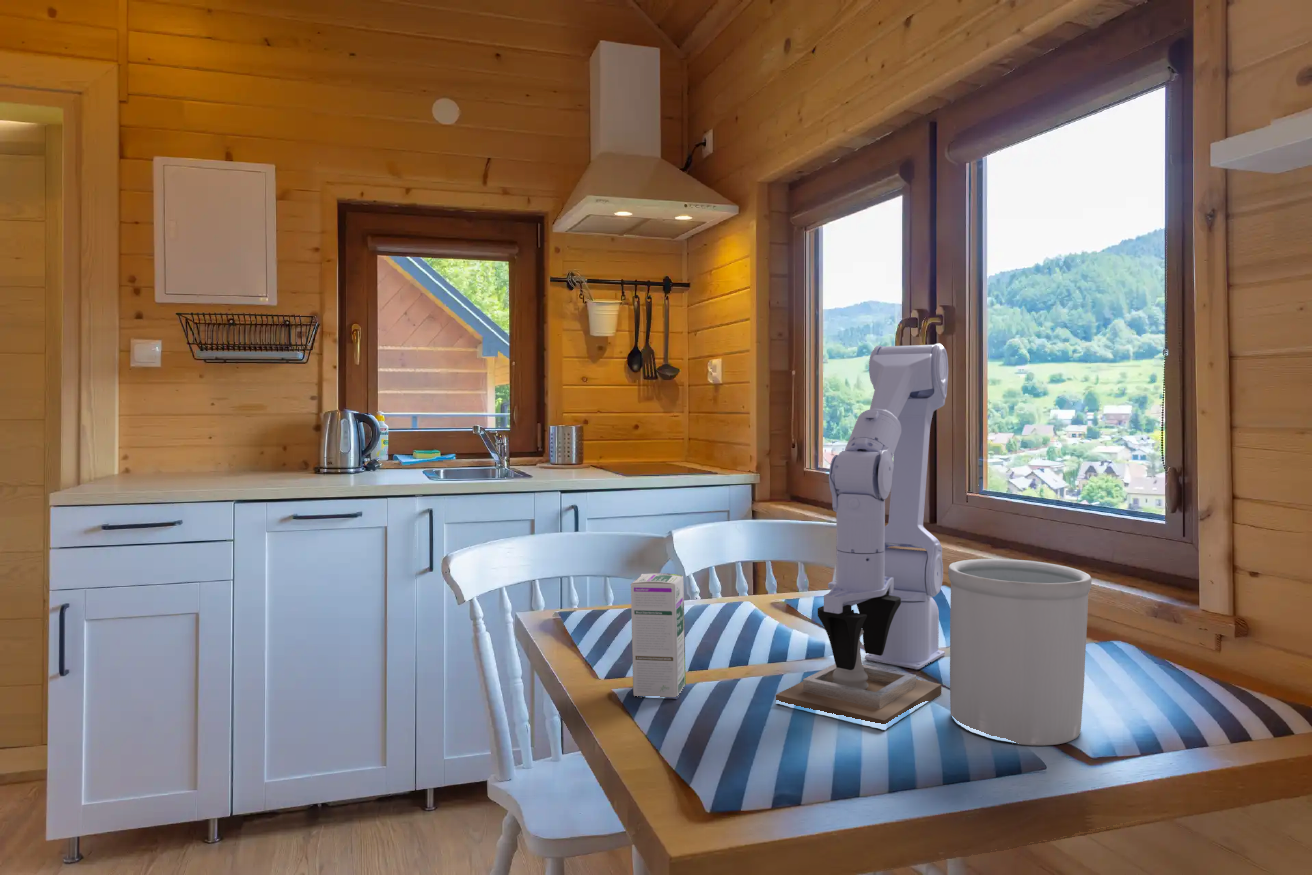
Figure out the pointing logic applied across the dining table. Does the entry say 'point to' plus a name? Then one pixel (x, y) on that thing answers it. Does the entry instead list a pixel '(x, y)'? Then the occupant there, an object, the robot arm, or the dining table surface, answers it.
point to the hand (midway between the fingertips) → (859, 660)
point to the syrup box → (658, 635)
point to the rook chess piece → (852, 673)
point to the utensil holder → (1018, 648)
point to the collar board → (862, 694)
